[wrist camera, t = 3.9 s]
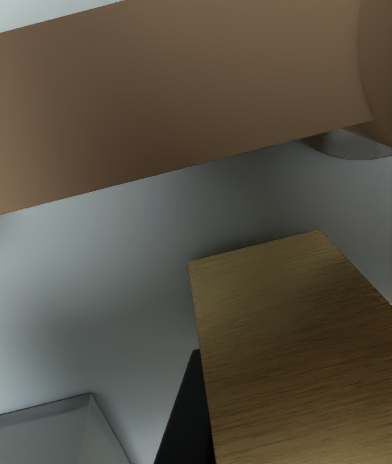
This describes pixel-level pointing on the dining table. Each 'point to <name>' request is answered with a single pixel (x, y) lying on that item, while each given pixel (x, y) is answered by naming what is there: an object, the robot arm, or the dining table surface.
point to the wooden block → (294, 355)
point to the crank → (183, 88)
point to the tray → (59, 435)
